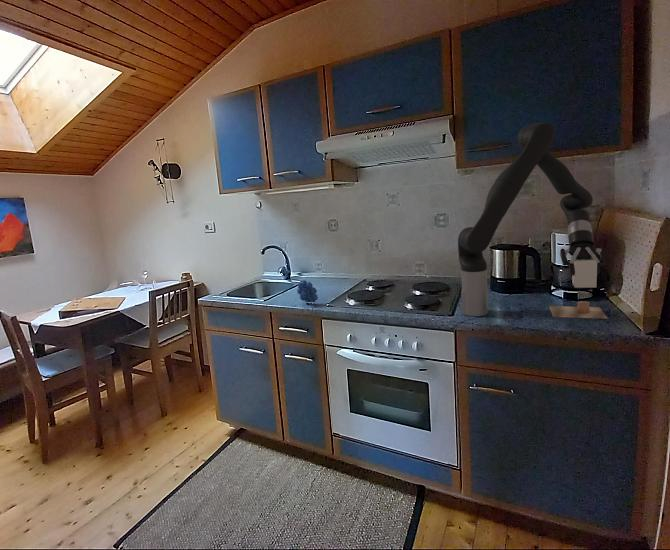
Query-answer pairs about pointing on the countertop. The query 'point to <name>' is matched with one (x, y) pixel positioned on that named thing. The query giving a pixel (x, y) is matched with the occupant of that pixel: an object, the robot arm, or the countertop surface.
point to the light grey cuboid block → (585, 274)
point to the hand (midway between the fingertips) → (585, 274)
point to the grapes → (307, 291)
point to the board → (572, 312)
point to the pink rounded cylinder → (583, 307)
